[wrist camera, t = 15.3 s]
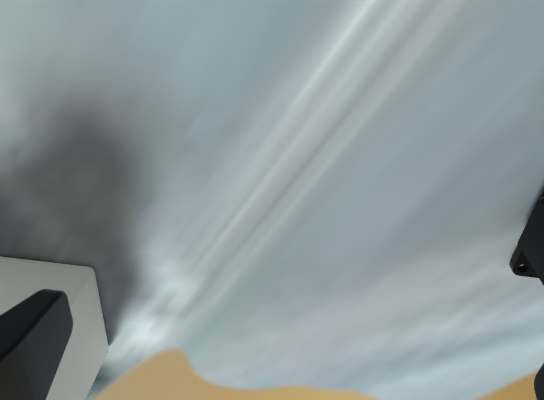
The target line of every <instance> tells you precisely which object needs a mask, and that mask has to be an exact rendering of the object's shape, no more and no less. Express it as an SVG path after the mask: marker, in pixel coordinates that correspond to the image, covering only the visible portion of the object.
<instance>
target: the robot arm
mask: <svg viewBox="0 0 544 400" xmlns="http://www.w3.org/2000/svg"><path fill="white" fill-rule="evenodd" d="M522 264H524V265H523V266H520V265H522ZM509 265H510V268H511V269H512V271H513V273H514V274H516V275H519V276H527V277H535V278H539V279H540V280H541V282H542V283H543V285H544V194H543V196H542V198H541V199H540V200H539V201H538V202H537V204H536V206H535V209H534V211H533V213H532V215H531V217H530V219H529V221H528V223H527V225H526V227H525V229H524V231H523V233H522V235H521V237H520V239H519V241H518V246H517V248H516V250H515V252H514V254H513V256H512V258H511V260H510V263H509ZM72 329H73V318H72V314H71V310H70V305H69V301H68V297H67V294H66V293H65V292H64V291H60V290H52V289H42V290H39V291H37V292H36V293H34V294H33V295H31V296H29V297H28V298H26V299H25V300H23V301H22V302H20V303H18V304H17V305H15V306H14V307H12V308H11V309H9V310H7V311H6V312H4V313H3V314H1V315H0V400H46V398H47V396H48V393H49V390H50V388H51V385H52V383H53V380H54V377H55V375H56V372H57V370H58V367H59V364H60V362H61V359H62V357H63V354H64V352H65V349H66V346H67V344H68V341H69V339H70V336H71V333H72ZM534 389H535V394H536V398H537V400H544V364H543V365H542V367H541V368H540V370H539V371H538V373H537V374H536V376H535V380H534Z"/></svg>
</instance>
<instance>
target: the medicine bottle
mask: <svg viewBox="0 0 544 400" xmlns="http://www.w3.org/2000/svg"><path fill="white" fill-rule="evenodd" d="M42 289H52V290H60V291H64V292H65V293H66V294H67V297H68V301H69V305H70V310H71V314H72V318H73V329H72V333H71V336H70V339H69V341H68V344H67V346H66V349H65V352H64V354H63V357H62V359H61V362H60V364H59V367H58V370H57V372H56V375H55V377H54V380H53V383H52V385H51V388H50V390H49V393H48V396H47V398H46V400H85V399H86V397H87V395H88V393H89V391H90V389H91V387H92V385H93V382H94V380H95V378H96V376H97V374H98V372H99V370H100V368H101V365H102V363H103V361H104V359H105V357H106V355H107V353H108V349H109V346H108V341H107V335H106V330H105V324H104V319H103V314H102V308H101V303H100V297H99V292H98V287H97V281H96V276H95V271H94V269H93V268H91V267H87V266H78V265H70V264H61V263H52V262H44V261H35V260H26V259H18V258H9V257H0V315H1V314H3V313H4V312H6V311H7V310H9V309H11V308H12V307H14V306H15V305H17V304H18V303H20V302H22V301H23V300H25V299H26V298H28V297H29V296H31V295H33V294H34V293H36V292H37V291H39V290H42Z"/></svg>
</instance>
